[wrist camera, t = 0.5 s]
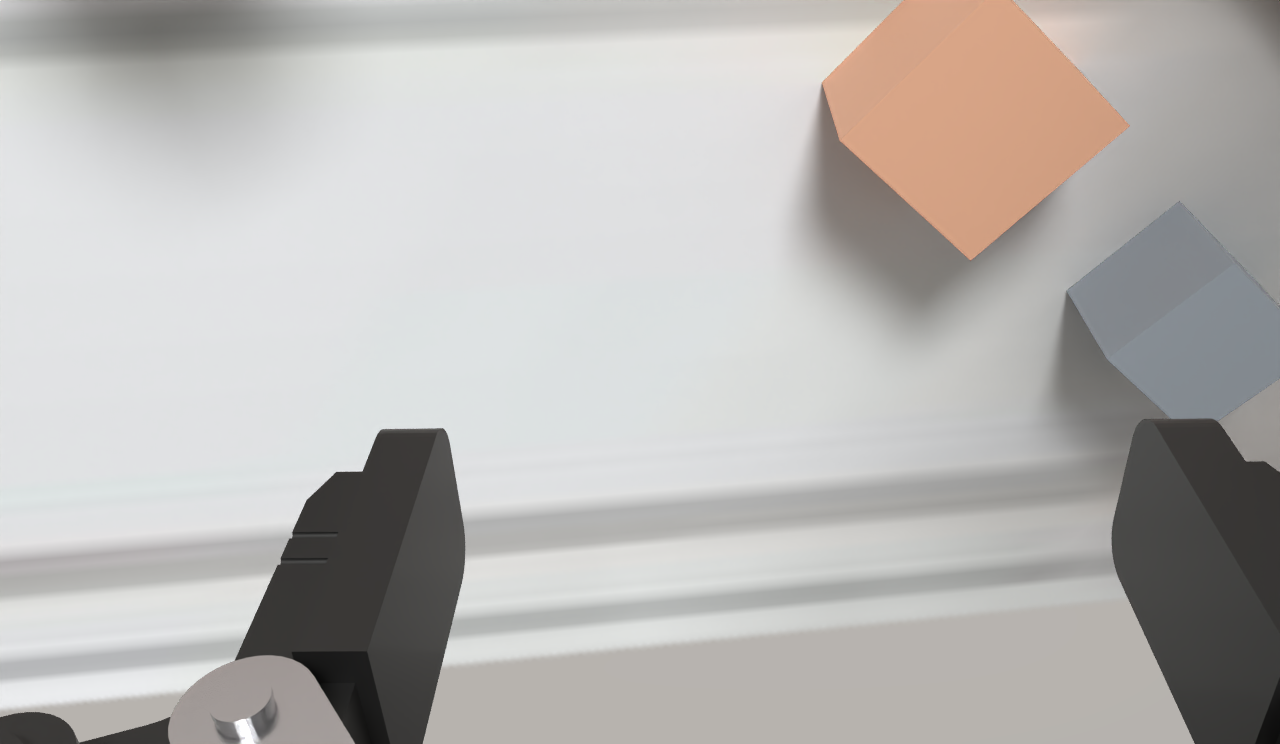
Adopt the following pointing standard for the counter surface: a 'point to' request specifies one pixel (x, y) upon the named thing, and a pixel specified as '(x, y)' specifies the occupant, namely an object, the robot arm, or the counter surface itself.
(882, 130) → the terracotta block
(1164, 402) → the slate block
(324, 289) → the counter surface
